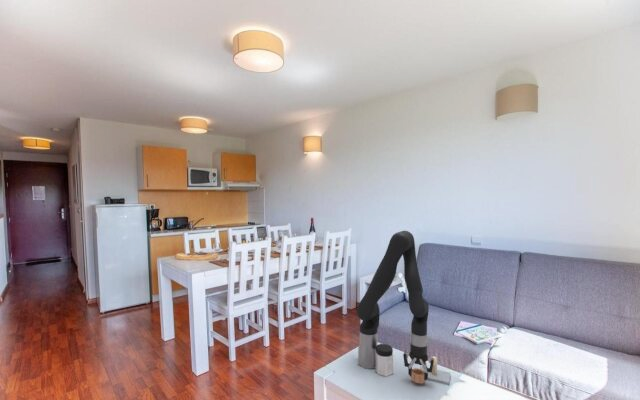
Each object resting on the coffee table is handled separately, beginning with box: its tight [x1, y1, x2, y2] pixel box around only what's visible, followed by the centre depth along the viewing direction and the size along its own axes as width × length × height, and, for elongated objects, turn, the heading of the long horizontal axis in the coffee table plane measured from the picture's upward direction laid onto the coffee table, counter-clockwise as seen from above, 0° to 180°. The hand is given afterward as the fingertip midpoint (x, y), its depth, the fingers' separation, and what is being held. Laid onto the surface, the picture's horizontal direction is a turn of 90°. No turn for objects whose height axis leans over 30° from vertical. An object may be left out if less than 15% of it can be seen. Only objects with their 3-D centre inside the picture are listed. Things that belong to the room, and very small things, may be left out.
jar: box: [375, 343, 394, 377], centre depth 156 cm, size 9×8×12 cm
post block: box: [419, 355, 451, 386], centre depth 152 cm, size 14×9×9 cm, turn 65°
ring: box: [410, 367, 426, 384], centre depth 146 cm, size 6×6×4 cm
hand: (418, 377), depth 146 cm, fingers closed on ring, 6 cm apart
